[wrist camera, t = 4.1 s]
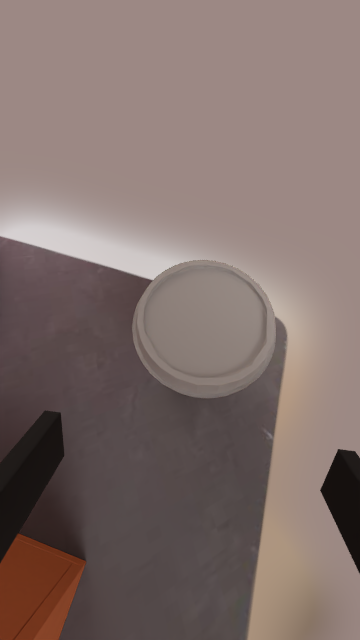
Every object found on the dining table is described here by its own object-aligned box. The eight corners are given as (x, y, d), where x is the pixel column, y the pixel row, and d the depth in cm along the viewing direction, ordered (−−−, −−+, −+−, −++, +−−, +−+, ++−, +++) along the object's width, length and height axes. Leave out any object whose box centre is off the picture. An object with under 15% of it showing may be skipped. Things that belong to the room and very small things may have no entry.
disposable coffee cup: (201, 433, 23) (225, 434, 12) (129, 370, 26) (96, 324, 15) (254, 358, 27) (310, 307, 16) (185, 308, 29) (193, 233, 18)
